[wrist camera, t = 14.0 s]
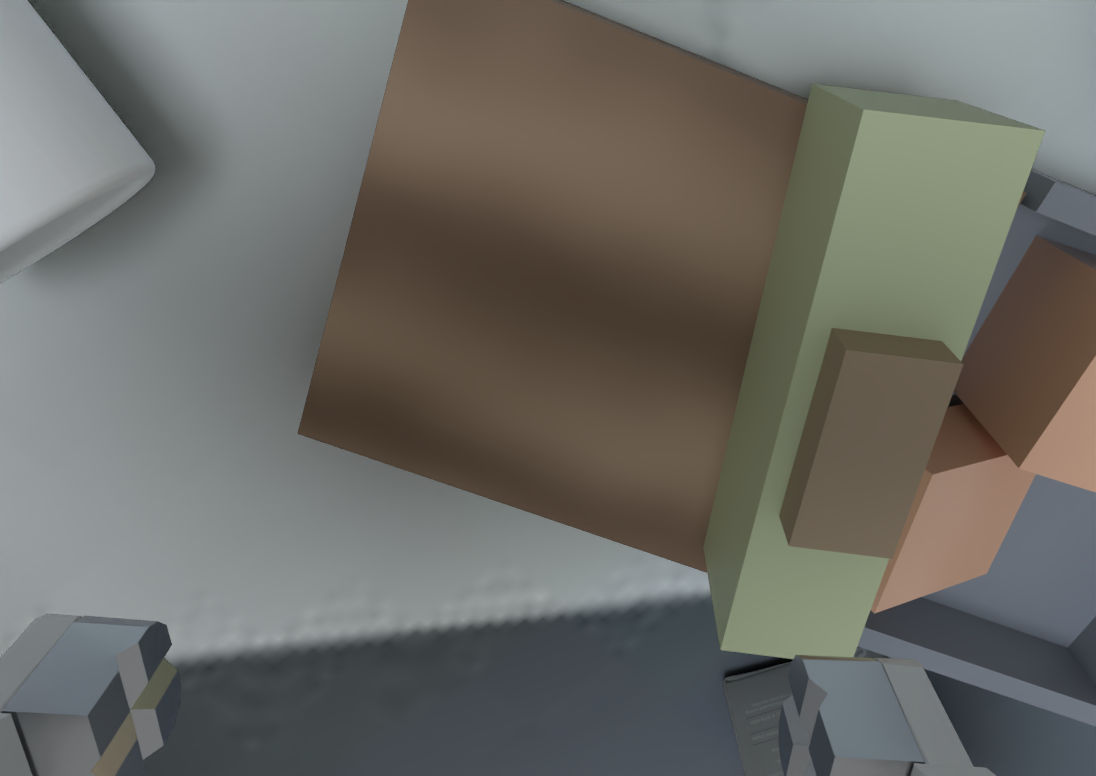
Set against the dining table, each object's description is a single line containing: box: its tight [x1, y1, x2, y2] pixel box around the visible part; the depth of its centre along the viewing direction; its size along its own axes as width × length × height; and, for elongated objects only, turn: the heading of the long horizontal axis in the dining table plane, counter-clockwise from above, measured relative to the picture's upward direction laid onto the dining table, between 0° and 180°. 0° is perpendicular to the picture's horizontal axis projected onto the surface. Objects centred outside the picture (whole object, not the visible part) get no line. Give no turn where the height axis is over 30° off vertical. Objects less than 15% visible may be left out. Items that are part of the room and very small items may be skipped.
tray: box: [858, 169, 1096, 726], centre depth 25 cm, size 15×13×4 cm
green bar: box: [703, 84, 1045, 659], centre depth 20 cm, size 14×4×6 cm, turn 174°
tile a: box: [871, 404, 1036, 614], centre depth 25 cm, size 5×5×2 cm
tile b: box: [954, 235, 1096, 492], centre depth 22 cm, size 5×5×2 cm
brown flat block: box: [298, 0, 1027, 573], centre depth 24 cm, size 14×16×3 cm
